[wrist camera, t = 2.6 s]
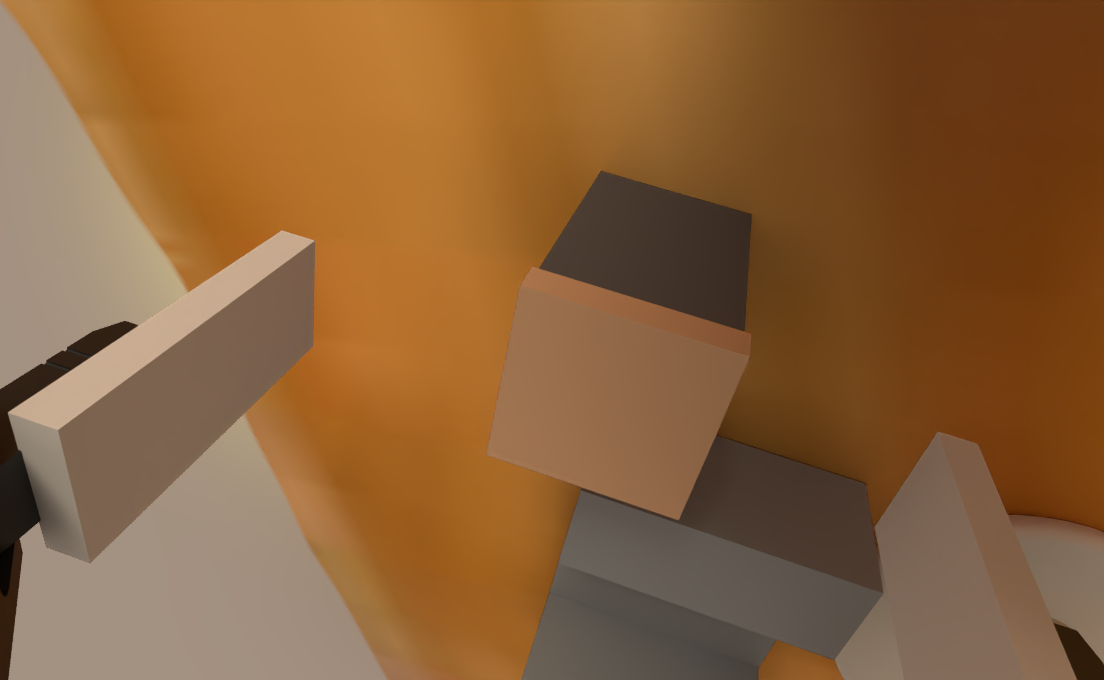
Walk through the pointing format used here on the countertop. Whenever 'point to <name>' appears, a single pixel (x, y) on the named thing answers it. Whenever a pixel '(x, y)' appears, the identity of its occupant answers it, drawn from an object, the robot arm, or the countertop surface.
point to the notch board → (711, 575)
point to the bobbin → (1060, 573)
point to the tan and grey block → (628, 345)
